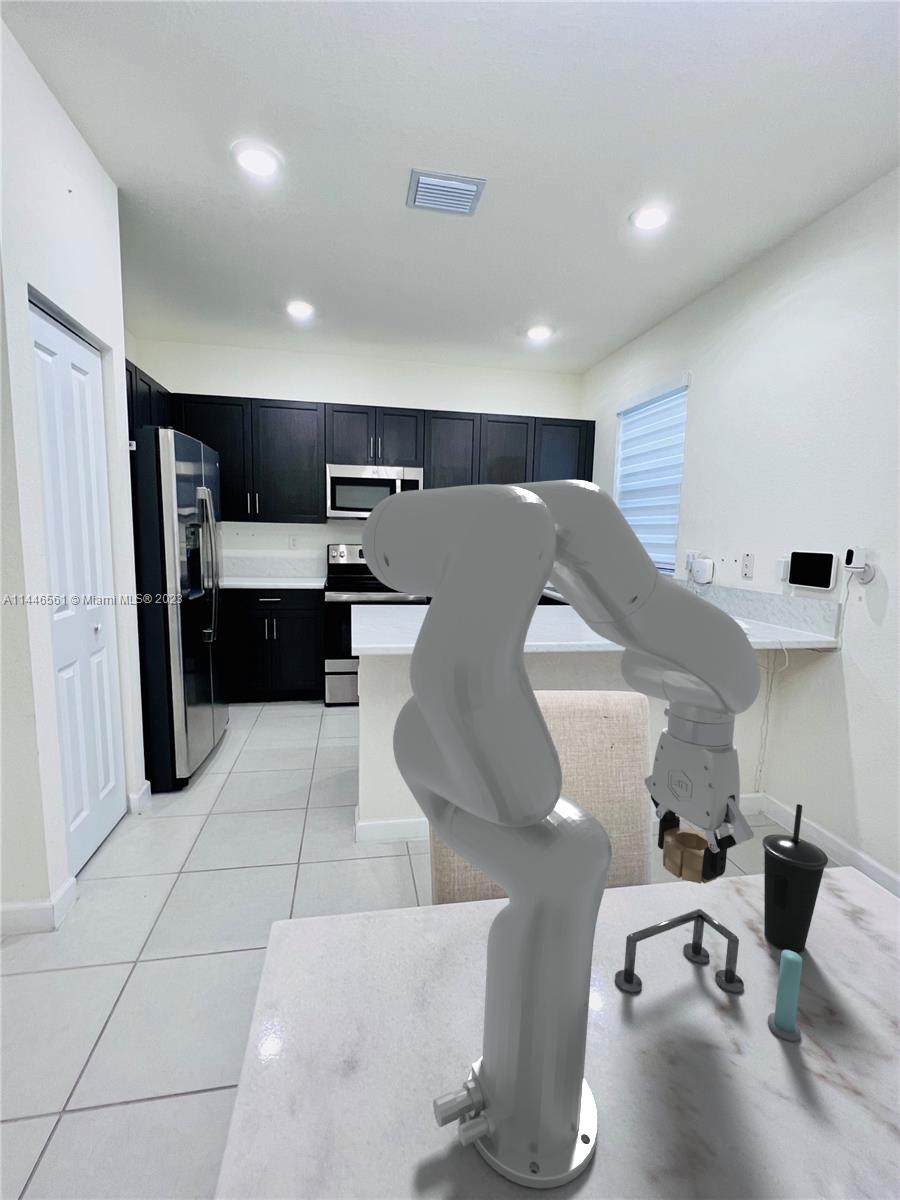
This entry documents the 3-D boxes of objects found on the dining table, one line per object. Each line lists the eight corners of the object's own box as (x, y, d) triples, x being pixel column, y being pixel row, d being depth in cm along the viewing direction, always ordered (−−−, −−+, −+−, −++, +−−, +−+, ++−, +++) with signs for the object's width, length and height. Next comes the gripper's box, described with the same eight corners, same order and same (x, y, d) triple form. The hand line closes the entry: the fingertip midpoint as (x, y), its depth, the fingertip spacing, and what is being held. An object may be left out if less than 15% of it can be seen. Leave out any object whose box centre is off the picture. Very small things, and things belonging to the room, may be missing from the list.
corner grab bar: (659, 1031, 60) (664, 979, 60) (609, 977, 68) (612, 929, 67) (749, 988, 67) (754, 940, 66) (694, 943, 74) (698, 899, 74)
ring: (692, 888, 66) (694, 860, 65) (652, 859, 71) (653, 833, 71) (727, 874, 68) (730, 848, 68) (686, 848, 74) (688, 823, 74)
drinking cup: (827, 966, 71) (845, 823, 69) (764, 955, 72) (780, 815, 70) (802, 926, 78) (817, 796, 76) (745, 917, 80) (758, 789, 78)
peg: (788, 1046, 59) (797, 971, 58) (761, 1022, 62) (769, 950, 61) (806, 1035, 61) (815, 962, 60) (779, 1012, 64) (786, 942, 63)
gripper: (627, 710, 74) (619, 833, 76) (743, 759, 58) (729, 911, 60) (667, 704, 77) (658, 822, 79) (786, 748, 61) (772, 893, 64)
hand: (689, 859), depth 70 cm, fingers closed on ring, 6 cm apart
